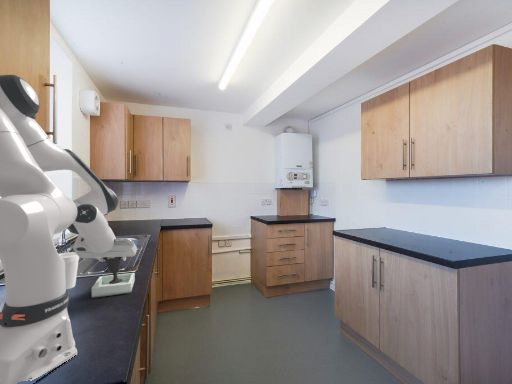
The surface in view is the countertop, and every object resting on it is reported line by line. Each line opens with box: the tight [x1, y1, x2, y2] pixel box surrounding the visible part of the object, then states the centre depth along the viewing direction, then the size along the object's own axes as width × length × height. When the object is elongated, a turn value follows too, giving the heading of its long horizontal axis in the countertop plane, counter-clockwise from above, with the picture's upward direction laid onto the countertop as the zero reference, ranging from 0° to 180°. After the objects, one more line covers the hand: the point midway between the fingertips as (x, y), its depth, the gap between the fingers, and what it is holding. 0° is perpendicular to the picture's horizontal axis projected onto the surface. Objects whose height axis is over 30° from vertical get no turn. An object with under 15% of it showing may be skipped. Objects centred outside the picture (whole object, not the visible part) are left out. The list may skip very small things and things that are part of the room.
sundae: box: [103, 257, 123, 284], centre depth 104 cm, size 7×7×15 cm
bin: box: [91, 272, 136, 299], centre depth 104 cm, size 13×13×4 cm
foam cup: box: [58, 251, 80, 291], centre depth 106 cm, size 10×9×13 cm
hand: (113, 259), depth 104 cm, fingers closed on sundae, 6 cm apart
